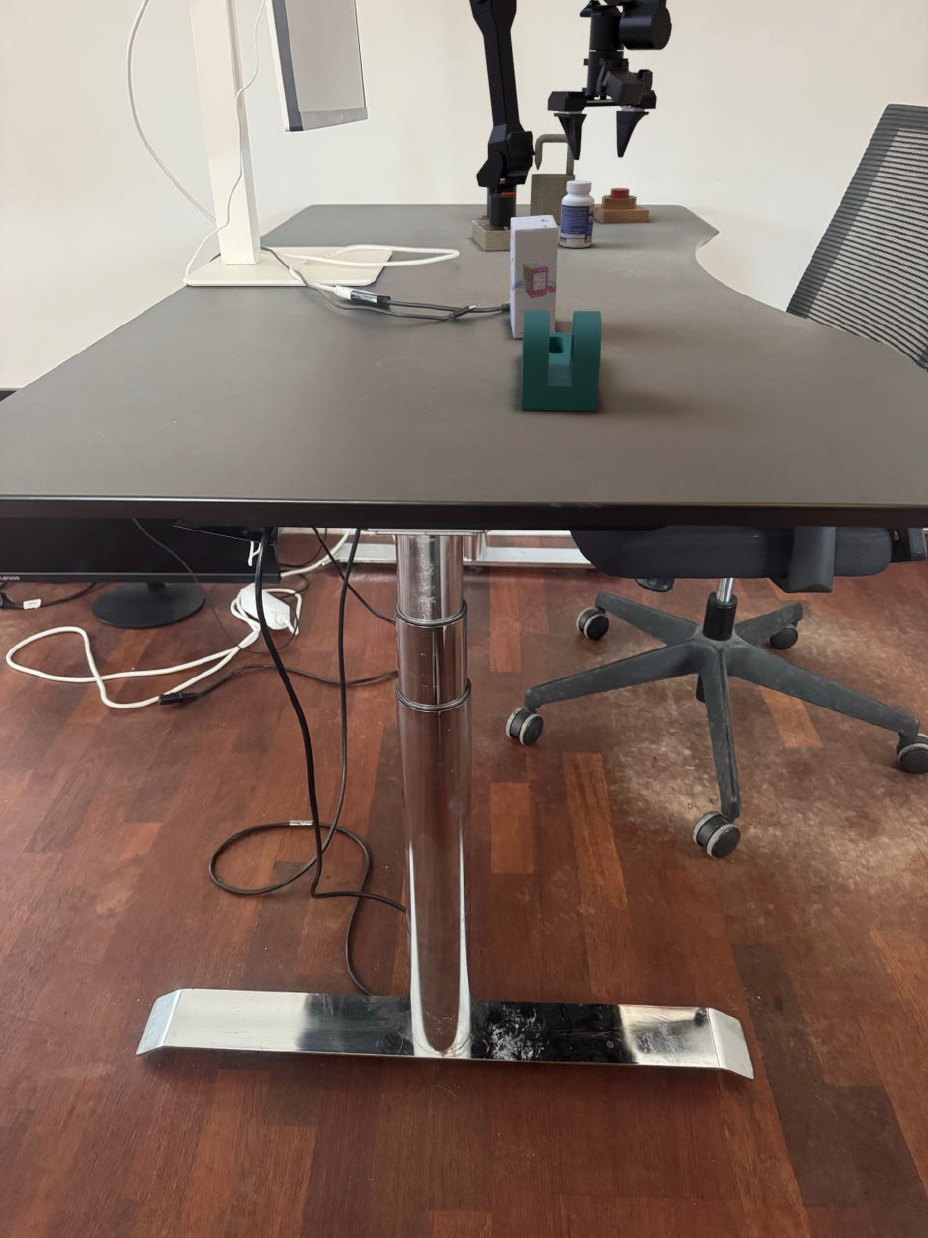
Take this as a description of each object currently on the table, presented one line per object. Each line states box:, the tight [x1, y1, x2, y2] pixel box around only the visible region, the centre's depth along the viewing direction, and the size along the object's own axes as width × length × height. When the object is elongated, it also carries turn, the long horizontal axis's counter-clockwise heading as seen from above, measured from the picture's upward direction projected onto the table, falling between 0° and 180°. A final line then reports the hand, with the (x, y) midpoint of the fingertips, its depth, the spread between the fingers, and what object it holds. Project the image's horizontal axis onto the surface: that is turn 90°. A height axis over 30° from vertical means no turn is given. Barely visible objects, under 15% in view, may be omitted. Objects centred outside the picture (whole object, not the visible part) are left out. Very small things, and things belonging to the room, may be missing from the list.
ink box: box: [509, 215, 559, 339], centre depth 100 cm, size 9×5×12 cm, turn 1°
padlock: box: [529, 133, 576, 225], centre depth 164 cm, size 4×8×15 cm, turn 85°
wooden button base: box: [593, 194, 650, 225], centre depth 170 cm, size 10×9×4 cm
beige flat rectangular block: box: [471, 219, 511, 252], centre depth 149 cm, size 12×10×3 cm
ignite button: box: [609, 187, 631, 198], centre depth 169 cm, size 4×4×2 cm
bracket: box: [520, 310, 602, 412], centre depth 85 cm, size 18×7×8 cm, turn 177°
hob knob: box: [489, 193, 515, 227], centre depth 146 cm, size 4×4×5 cm
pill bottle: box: [559, 180, 595, 249], centre depth 145 cm, size 5×5×10 cm
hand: (598, 158), depth 150 cm, fingers open, 9 cm apart
